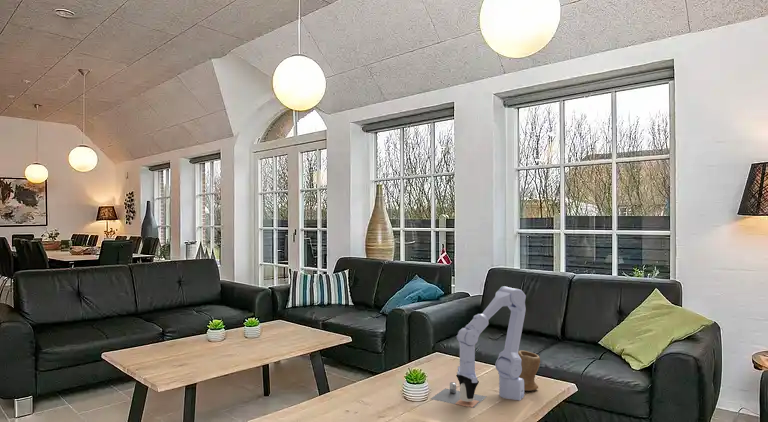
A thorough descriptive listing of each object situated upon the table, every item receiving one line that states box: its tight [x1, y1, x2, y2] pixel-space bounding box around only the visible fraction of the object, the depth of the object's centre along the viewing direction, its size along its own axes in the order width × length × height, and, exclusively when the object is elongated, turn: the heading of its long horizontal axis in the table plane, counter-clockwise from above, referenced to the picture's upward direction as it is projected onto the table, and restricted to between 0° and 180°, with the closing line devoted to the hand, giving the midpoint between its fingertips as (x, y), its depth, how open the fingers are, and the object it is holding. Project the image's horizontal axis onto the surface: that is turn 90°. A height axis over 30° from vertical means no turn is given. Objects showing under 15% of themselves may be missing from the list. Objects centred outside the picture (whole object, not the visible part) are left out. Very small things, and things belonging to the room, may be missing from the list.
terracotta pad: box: [454, 399, 480, 409], centre depth 195 cm, size 7×7×1 cm
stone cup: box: [518, 349, 541, 392], centre depth 217 cm, size 15×12×15 cm
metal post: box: [449, 381, 457, 394], centre depth 206 cm, size 3×3×4 cm
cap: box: [459, 383, 474, 402], centre depth 195 cm, size 5×5×6 cm
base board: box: [430, 388, 487, 409], centre depth 201 cm, size 18×14×1 cm
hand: (467, 395), depth 195 cm, fingers closed on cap, 5 cm apart
